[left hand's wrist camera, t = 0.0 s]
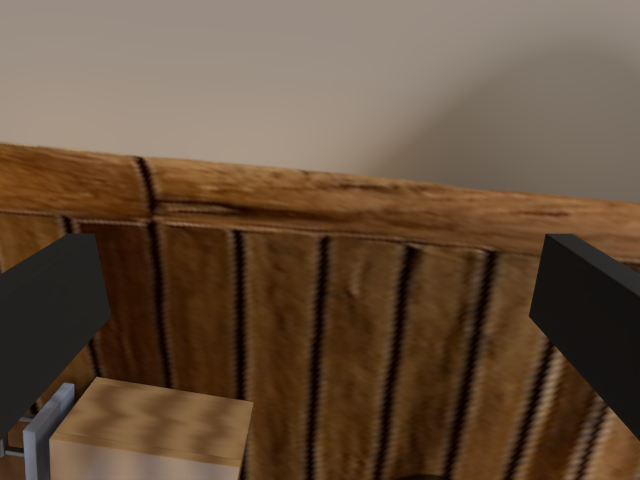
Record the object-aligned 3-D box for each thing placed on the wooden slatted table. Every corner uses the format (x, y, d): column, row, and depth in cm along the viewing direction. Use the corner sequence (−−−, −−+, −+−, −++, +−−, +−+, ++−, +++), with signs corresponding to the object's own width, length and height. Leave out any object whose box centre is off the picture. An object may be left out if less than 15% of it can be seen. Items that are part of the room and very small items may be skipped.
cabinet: (95, 440, 51) (51, 510, 43) (96, 376, 48) (48, 439, 40) (242, 462, 53) (227, 535, 44) (253, 401, 49) (239, 467, 41)
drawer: (15, 432, 50) (-32, 485, 43) (11, 373, 47) (-40, 421, 40) (206, 460, 51) (190, 516, 45) (214, 405, 48) (197, 457, 42)
